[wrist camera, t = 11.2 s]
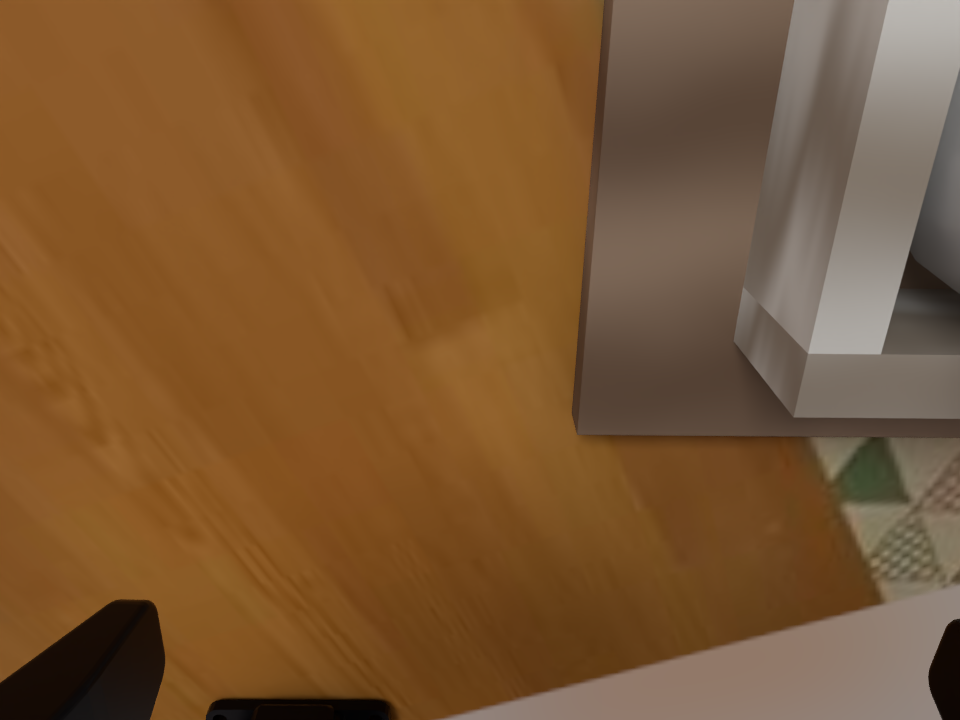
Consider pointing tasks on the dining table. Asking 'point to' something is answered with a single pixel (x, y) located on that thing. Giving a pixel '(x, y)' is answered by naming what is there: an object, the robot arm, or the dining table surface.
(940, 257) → the salt shaker
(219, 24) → the dining table surface
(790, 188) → the socket board
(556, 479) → the dining table surface
